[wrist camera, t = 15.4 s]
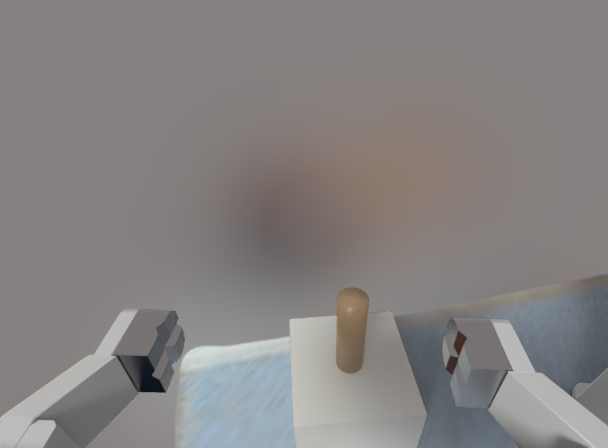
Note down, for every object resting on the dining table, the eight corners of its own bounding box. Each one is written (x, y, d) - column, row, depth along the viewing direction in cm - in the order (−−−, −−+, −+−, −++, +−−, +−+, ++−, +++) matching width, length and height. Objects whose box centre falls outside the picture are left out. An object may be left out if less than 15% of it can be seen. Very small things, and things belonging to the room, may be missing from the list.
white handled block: (383, 362, 51) (400, 250, 39) (412, 463, 41) (447, 353, 29) (294, 369, 51) (283, 259, 39) (299, 473, 40) (286, 366, 28)
